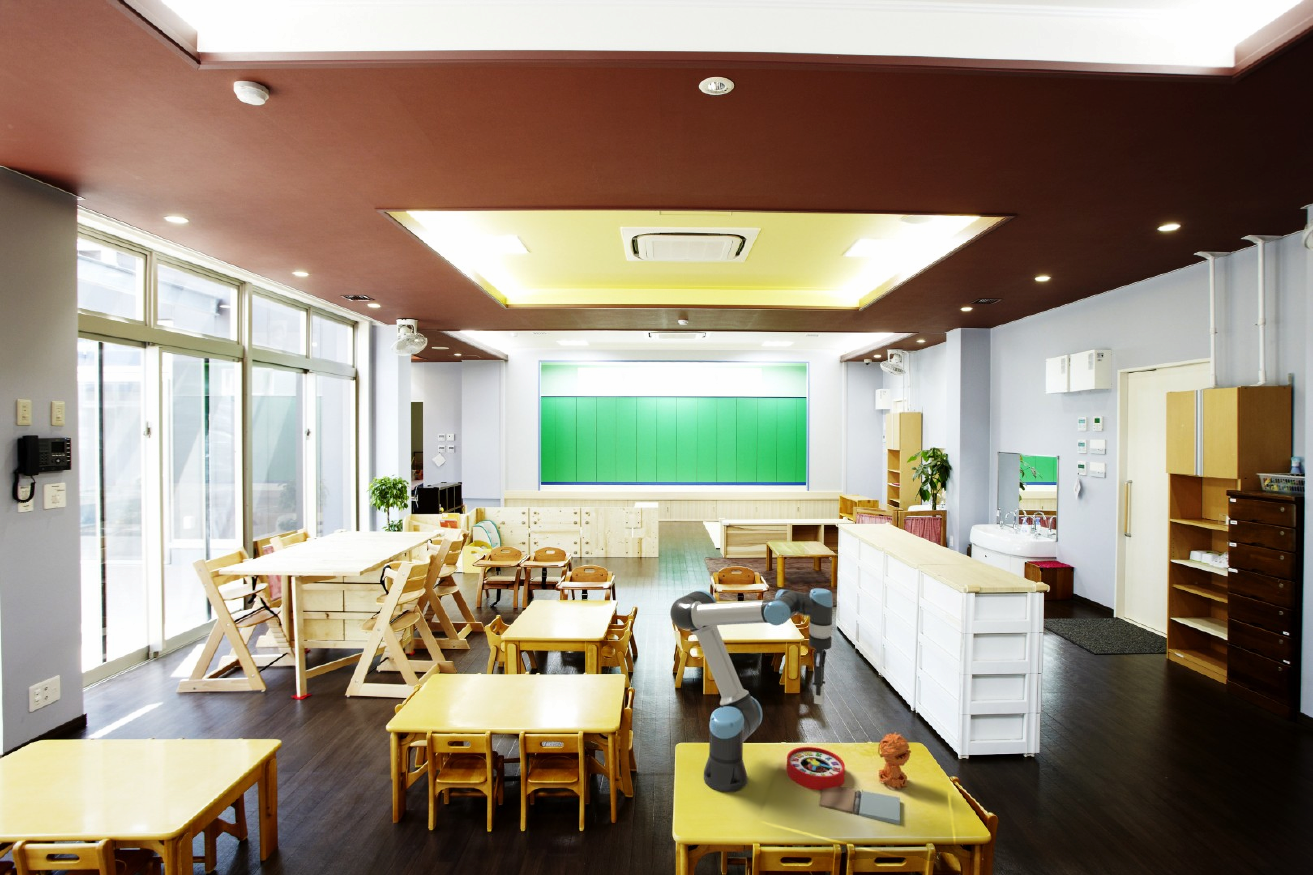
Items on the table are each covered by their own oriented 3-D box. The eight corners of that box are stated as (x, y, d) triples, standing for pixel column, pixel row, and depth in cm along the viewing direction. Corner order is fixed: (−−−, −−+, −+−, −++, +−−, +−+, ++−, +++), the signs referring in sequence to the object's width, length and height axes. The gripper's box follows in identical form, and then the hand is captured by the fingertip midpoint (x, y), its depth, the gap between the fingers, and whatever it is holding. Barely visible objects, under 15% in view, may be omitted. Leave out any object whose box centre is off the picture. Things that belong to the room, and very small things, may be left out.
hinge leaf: (853, 816, 199) (853, 811, 199) (856, 794, 211) (856, 789, 211) (899, 825, 194) (899, 820, 194) (899, 801, 206) (899, 797, 206)
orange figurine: (913, 795, 211) (915, 743, 211) (879, 791, 213) (881, 739, 213) (907, 777, 222) (908, 727, 222) (874, 773, 224) (876, 724, 224)
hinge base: (819, 808, 203) (819, 803, 203) (823, 786, 215) (823, 782, 215) (858, 817, 199) (858, 812, 199) (860, 795, 211) (860, 790, 211)
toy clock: (792, 742, 235) (847, 754, 227) (792, 757, 235) (847, 770, 227) (781, 768, 216) (841, 782, 208) (781, 785, 216) (840, 800, 209)
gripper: (829, 642, 206) (827, 713, 207) (833, 630, 218) (831, 697, 219) (806, 639, 209) (804, 708, 209) (811, 627, 221) (809, 693, 222)
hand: (818, 703), depth 214 cm, fingers closed
